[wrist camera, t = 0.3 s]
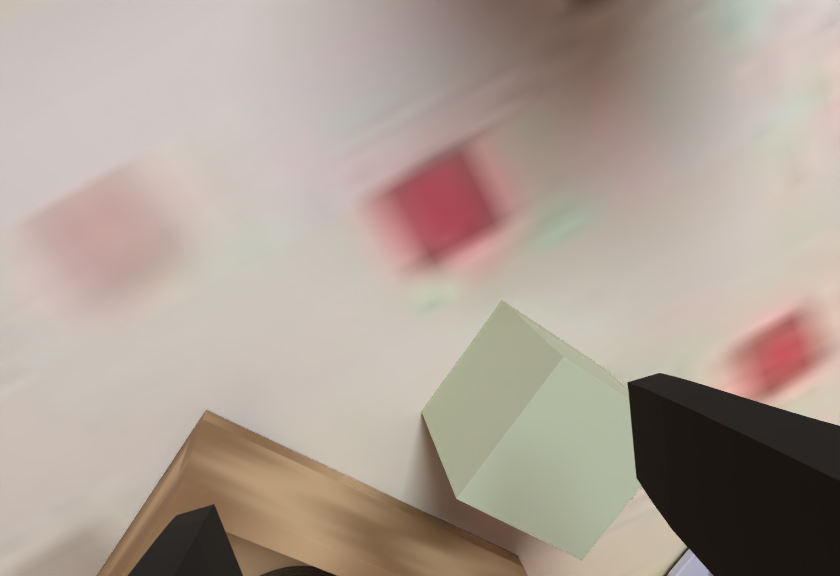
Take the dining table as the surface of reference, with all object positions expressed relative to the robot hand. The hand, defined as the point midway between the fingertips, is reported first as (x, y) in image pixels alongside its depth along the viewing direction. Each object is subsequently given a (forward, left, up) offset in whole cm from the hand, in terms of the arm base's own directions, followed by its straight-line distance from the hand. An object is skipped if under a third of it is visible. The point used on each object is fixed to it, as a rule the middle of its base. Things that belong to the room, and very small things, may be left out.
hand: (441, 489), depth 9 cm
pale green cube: (-6, 0, -10) cm, 12 cm away
